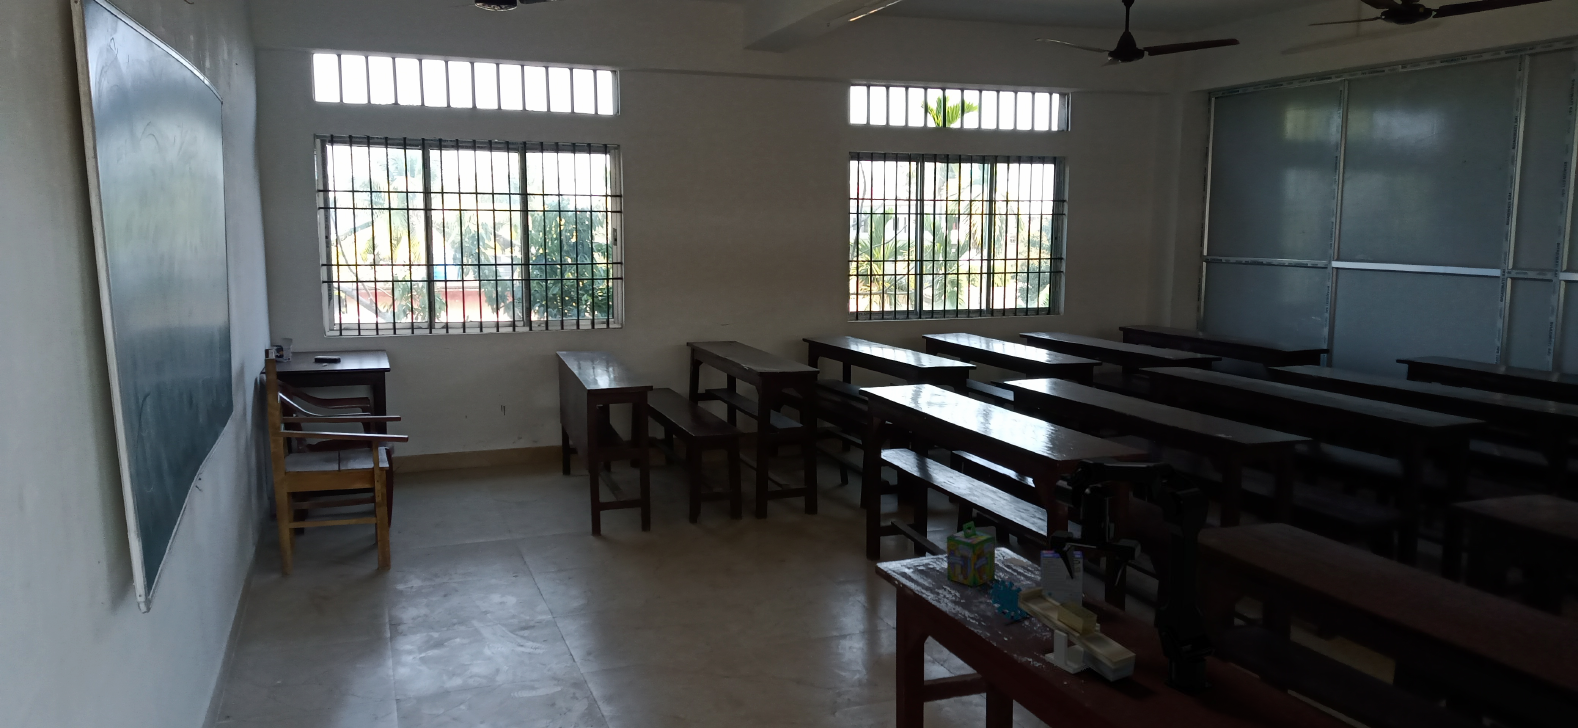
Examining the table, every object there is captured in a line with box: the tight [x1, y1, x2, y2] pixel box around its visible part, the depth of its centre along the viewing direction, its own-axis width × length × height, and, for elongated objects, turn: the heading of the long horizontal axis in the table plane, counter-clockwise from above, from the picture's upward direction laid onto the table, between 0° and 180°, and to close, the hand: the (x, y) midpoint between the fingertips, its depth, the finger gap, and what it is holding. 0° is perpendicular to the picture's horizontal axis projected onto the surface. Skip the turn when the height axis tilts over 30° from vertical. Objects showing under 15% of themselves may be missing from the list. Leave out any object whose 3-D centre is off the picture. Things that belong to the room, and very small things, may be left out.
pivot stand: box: [1044, 622, 1101, 675], centre depth 216 cm, size 8×10×7 cm
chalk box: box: [946, 520, 996, 588], centre depth 264 cm, size 9×9×15 cm
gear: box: [989, 579, 1028, 621], centre depth 243 cm, size 11×6×10 cm
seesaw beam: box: [1018, 585, 1137, 683], centre depth 217 cm, size 28×8×6 cm, turn 30°
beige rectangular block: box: [1057, 601, 1098, 637], centre depth 216 cm, size 7×4×4 cm, turn 30°
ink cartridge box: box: [1040, 549, 1084, 607], centre depth 247 cm, size 10×6×14 cm, turn 78°
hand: (1093, 581), depth 226 cm, fingers open, 9 cm apart
